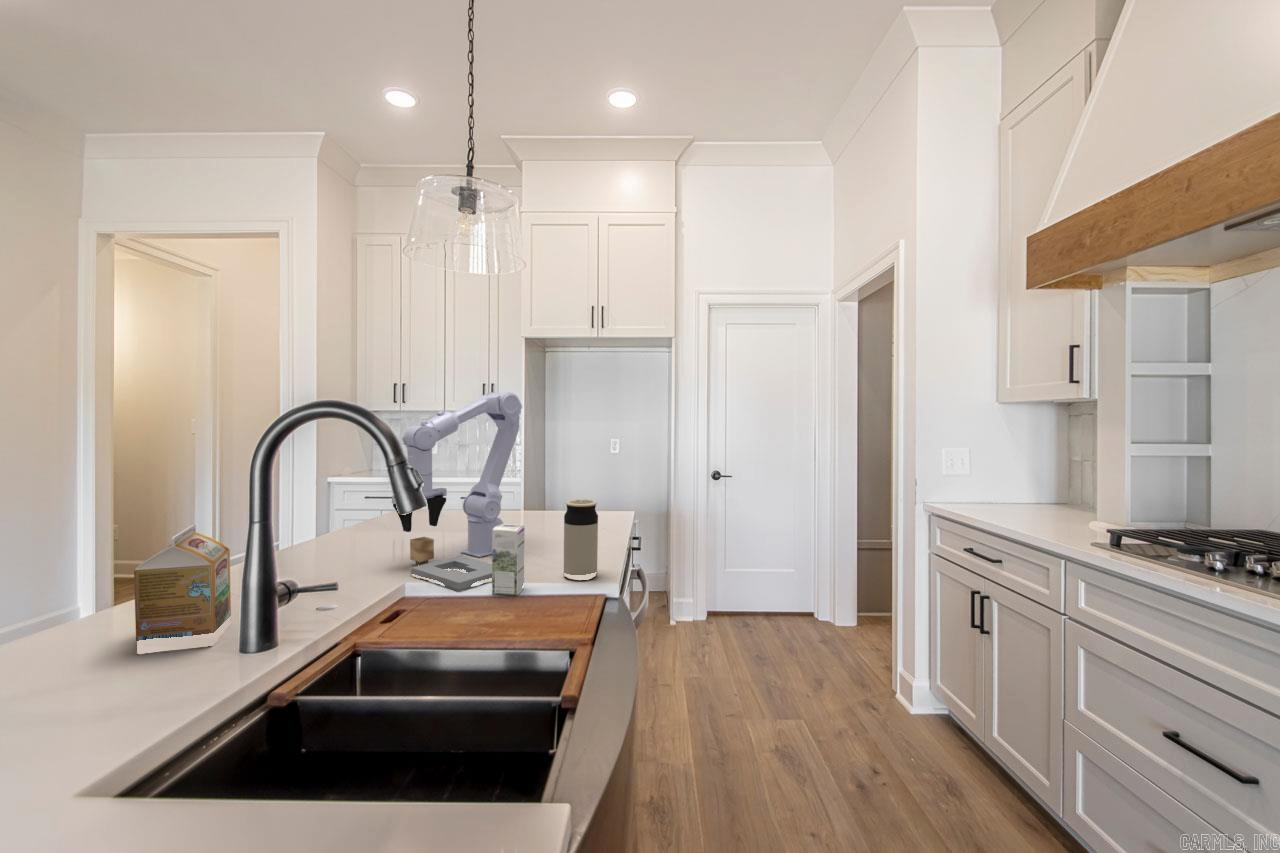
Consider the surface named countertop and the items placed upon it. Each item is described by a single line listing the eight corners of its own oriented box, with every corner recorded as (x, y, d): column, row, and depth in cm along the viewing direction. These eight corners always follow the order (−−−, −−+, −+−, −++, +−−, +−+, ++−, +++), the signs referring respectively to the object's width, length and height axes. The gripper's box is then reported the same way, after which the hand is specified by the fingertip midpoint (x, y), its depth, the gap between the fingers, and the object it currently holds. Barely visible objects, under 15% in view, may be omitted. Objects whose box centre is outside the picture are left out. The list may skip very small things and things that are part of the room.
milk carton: (161, 630, 108) (159, 526, 107) (231, 624, 111) (229, 522, 110) (136, 655, 98) (133, 539, 97) (213, 646, 102) (210, 535, 101)
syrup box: (525, 587, 135) (525, 523, 134) (517, 596, 129) (517, 529, 128) (500, 586, 135) (500, 522, 135) (491, 595, 130) (491, 528, 129)
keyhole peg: (424, 561, 154) (424, 536, 153) (433, 564, 152) (433, 539, 151) (410, 565, 151) (410, 539, 150) (419, 568, 148) (419, 542, 148)
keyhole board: (460, 563, 153) (460, 555, 153) (508, 576, 143) (508, 568, 142) (410, 575, 142) (410, 567, 142) (458, 591, 131) (458, 582, 131)
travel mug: (601, 579, 142) (602, 503, 141) (568, 583, 139) (569, 505, 138) (591, 570, 149) (592, 498, 148) (560, 573, 146) (560, 499, 145)
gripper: (434, 469, 158) (434, 521, 158) (383, 476, 145) (384, 531, 146) (451, 472, 154) (452, 524, 154) (401, 478, 142) (402, 535, 142)
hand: (420, 528), depth 150 cm, fingers open, 7 cm apart
